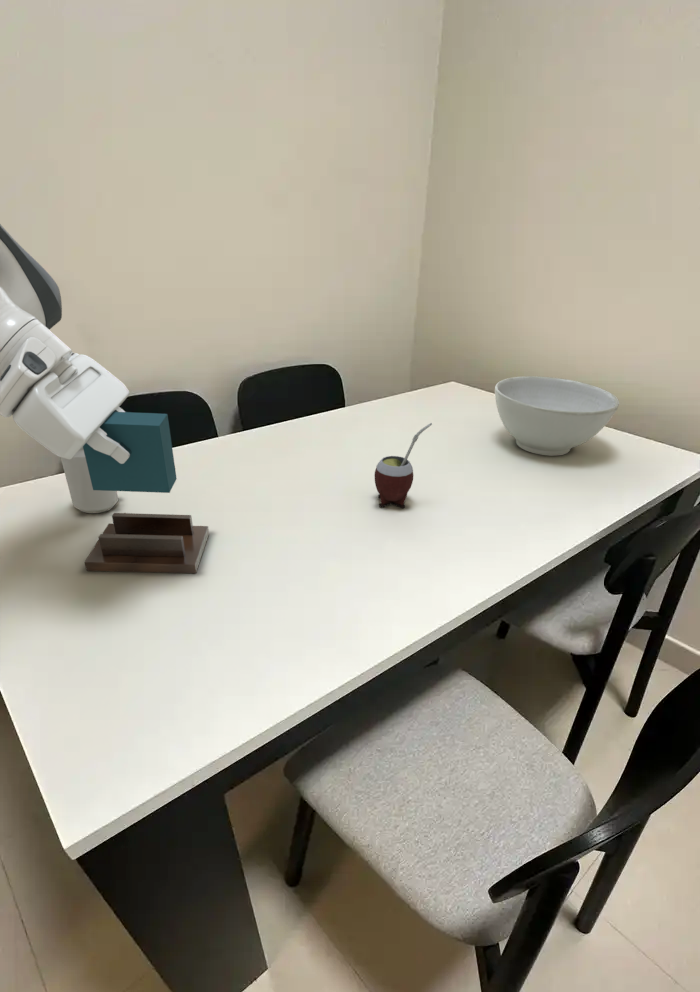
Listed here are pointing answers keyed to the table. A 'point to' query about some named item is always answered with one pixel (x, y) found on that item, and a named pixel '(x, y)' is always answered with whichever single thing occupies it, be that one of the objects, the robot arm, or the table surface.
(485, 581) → the table surface
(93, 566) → the board
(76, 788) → the table surface
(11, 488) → the table surface
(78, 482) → the can
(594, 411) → the decorative bowl
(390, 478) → the mate gourd
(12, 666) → the table surface
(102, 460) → the back pad
